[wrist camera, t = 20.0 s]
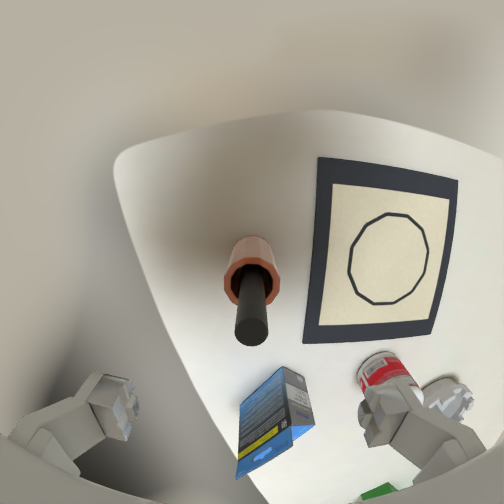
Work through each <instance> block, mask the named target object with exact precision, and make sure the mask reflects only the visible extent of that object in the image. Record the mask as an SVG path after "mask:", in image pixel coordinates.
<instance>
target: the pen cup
mask: <svg viewBox="0 0 504 504" xmlns="http://www.w3.org/2000/svg"><path fill="white" fill-rule="evenodd" d="M246 264H259V265H260V266H262V270H263V281H264V291H265V301H266V305H268V304H270V303H272V301H273V300H274V298H275V297H276V296H277V294H278V293H279V287H280V276H279V273H278V269H277V265H276V261H275V258H274V254H273V251H272V249H271V247H270V245H269V244H268V242H267V241H265V240H264V239H262V238H260V237H257V236H247V237H244V238H242V239H241V240H239V241H238V242H237V243H236V245H235V246H234V248H233V250H232V253H231V256H230V259H229V262H228V265H227V269H226V272H225V275H224V291H225V292H226V294H227V296H228V297H229V299H230V301H231V302H232V303H234V304H236V305H238V300H239V292H240V284H241V276H242V268H243V266H244V265H246Z"/></svg>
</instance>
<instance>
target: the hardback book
mask: <svg viewBox="0 0 504 504" xmlns="http://www.w3.org/2000/svg"><path fill="white" fill-rule="evenodd" d="M396 491H398V490H397V489H396V488H394V487H393V486H392V485H391V484H390V483H389V482H388V483H386V484H384V485H381V486H379V487H377V488H375V489H373V490H371V491H369V492H366V493H364V494H362V495H361V496H362V500H367V499H371V498H375V497H379V496H382V495H386V494H389V493H393V492H396Z"/></svg>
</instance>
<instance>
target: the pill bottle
mask: <svg viewBox="0 0 504 504" xmlns="http://www.w3.org/2000/svg"><path fill="white" fill-rule="evenodd" d="M402 380H405V381H406V382H407V383H408V384H409V386H410V387H411V389H412V390H413V392H414V393H415V395H416V396H417V398H418V399H419V401H420V403H421V404H422V406H423V407H424V405H423V401H424V395H423V392H422V391H421V389H420V388H419V386H418V385H417V383H416V382H415V381H414V379H413V378H412V376H411V375H410V374H409V372H408V371H407V370H406V368H405V367H404V365H403V364H402V363H401V361H400V360H399V359H398V358H397V356H395V355H394V354H392V353H389V352H383V353H379V354H376V355H374V356H372V357H371V358H369V359H368V360H367V361H366V362H365V363H364V364H363V365H362V366H361V368H360V370H359V372H358V383H359V385H360V388H361V390H362V392H363V394H364V392H365V389H366V388H367V387H368V386H373V385H380V384H386V383H392V382H397V381H402Z"/></svg>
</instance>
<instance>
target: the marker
mask: <svg viewBox="0 0 504 504" xmlns="http://www.w3.org/2000/svg"><path fill="white" fill-rule="evenodd" d="M235 336H236V338H237V340H238V341H239V342H240V343H242V344H243V345H246V346H257V345H260V344H261V343H263V342H264V341H265V340H266V338H267V336H268V323H267V312H266V301H265V291H264V281H263V270H262V266H260V265H259V264H246V265H244V266H243V268H242V276H241V284H240V292H239V300H238V308H237V316H236V324H235Z"/></svg>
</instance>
